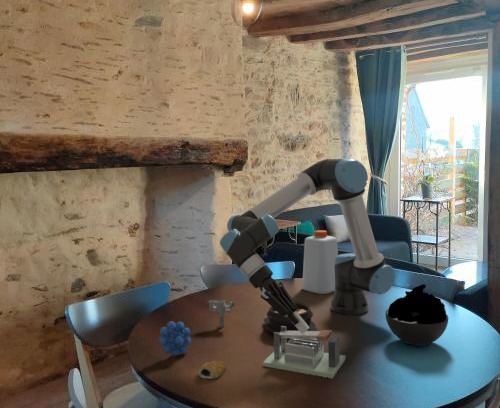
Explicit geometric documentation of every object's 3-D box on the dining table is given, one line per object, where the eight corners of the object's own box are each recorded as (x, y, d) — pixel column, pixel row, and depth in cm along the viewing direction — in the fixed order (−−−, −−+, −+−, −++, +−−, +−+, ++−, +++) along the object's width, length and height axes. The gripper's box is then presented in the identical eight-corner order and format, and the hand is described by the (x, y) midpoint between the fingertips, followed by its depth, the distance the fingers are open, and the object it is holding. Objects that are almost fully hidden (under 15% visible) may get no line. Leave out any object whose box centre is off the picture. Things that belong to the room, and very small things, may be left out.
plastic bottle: (298, 289, 231) (297, 231, 228) (318, 283, 241) (318, 227, 238) (323, 296, 220) (323, 234, 217) (344, 289, 230) (343, 230, 227)
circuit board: (263, 365, 150) (263, 362, 150) (280, 348, 162) (280, 345, 162) (332, 378, 140) (332, 374, 140) (345, 359, 153) (345, 355, 153)
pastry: (213, 365, 152) (213, 353, 152) (231, 369, 149) (231, 357, 148) (195, 377, 144) (195, 365, 144) (214, 382, 141) (214, 369, 140)
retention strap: (275, 339, 152) (275, 335, 152) (282, 333, 157) (281, 329, 157) (326, 340, 144) (326, 336, 144) (331, 334, 150) (331, 330, 149)
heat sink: (271, 361, 150) (271, 335, 149) (284, 348, 160) (284, 323, 159) (332, 372, 142) (332, 344, 141) (342, 357, 152) (341, 331, 151)
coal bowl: (417, 360, 151) (417, 301, 149) (372, 339, 169) (372, 286, 167) (461, 347, 160) (462, 291, 158) (415, 328, 178) (415, 278, 176)
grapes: (165, 365, 152) (164, 328, 151) (156, 358, 158) (154, 322, 156) (198, 355, 159) (196, 319, 158) (188, 349, 164) (186, 314, 163)
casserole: (252, 324, 187) (252, 303, 186) (294, 316, 194) (294, 295, 193) (284, 347, 164) (284, 323, 163) (330, 337, 172) (330, 313, 171)
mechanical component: (234, 329, 182) (233, 303, 181) (207, 327, 184) (206, 302, 183) (235, 326, 185) (235, 300, 184) (209, 325, 187) (208, 299, 186)
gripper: (257, 274, 162) (304, 331, 156) (239, 283, 150) (289, 345, 145) (272, 260, 159) (321, 317, 153) (255, 268, 147) (307, 330, 142)
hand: (305, 330), depth 149 cm, fingers closed
